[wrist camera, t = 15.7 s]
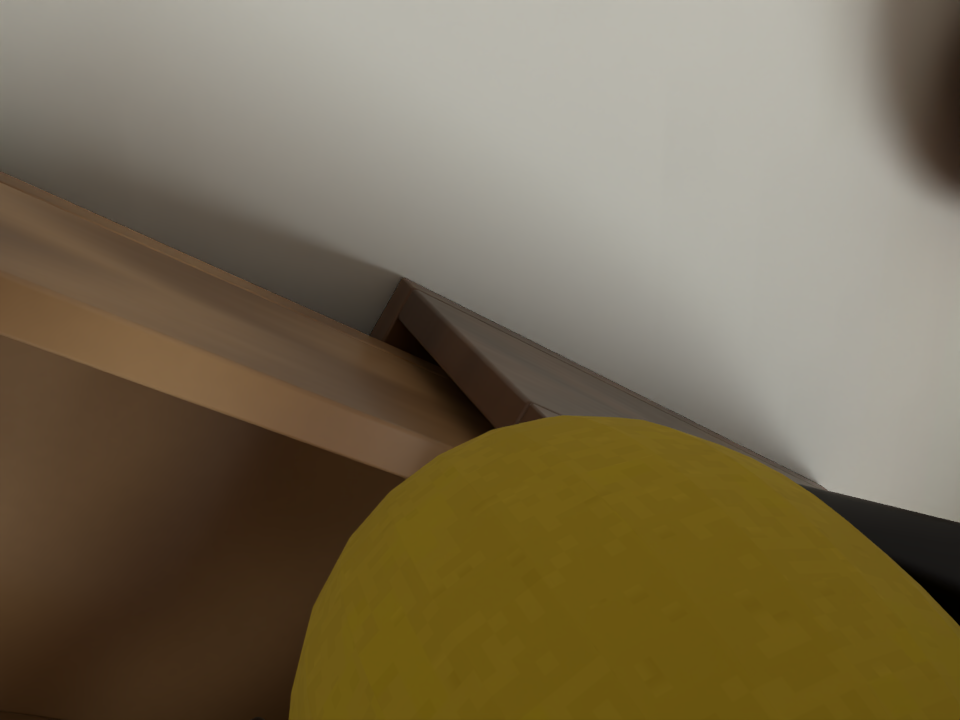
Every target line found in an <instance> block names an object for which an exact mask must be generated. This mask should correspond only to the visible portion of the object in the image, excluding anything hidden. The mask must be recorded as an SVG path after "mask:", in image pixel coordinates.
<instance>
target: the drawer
mask: <svg viewBox="0 0 960 720" xmlns="http://www.w3.org/2000/svg"><path fill="white" fill-rule="evenodd" d="M493 429H495V428H494V426H493V425H492V424H491V423H490V422H489V421H488V420H487V418H486V417H485V416H484V415H483V414H482V413H481V412H480V411H479V409H478V408H477V407H476V406H475V405H474V404H473V403H472V402H471V400H470V399H469V398H468V397H467V396H466V395H465V394H464V392H463V391H462V390H461V389H460V388H459V387H458V386H457V385H456V383H455V382H454V381H453V380H452V379H451V378H450V377H449V376H448V374H447V373H446V372H445V371H444V370H443V369H442V368H441V367H438V366H436V365H434V364H432V363H429V362H427V361H425V360H423V359H421V358H418V357H416V356H414V355H412V354H409V353H407V352H405V351H403V350H400V349H398V348H396V347H394V346H391V345H389V344H387V343H385V342H382V341H380V340H378V339H376V338H373V337H371V336H369V335H367V334H364V333H362V332H360V331H358V330H356V329H353V328H351V327H349V326H347V325H344V324H342V323H340V322H338V321H335V320H333V319H331V318H329V317H326V316H324V315H322V314H320V313H317V312H315V311H313V310H311V309H308V308H306V307H304V306H302V305H299V304H297V303H295V302H293V301H290V300H288V299H286V298H284V297H282V296H279V295H277V294H275V293H273V292H270V291H268V290H266V289H264V288H261V287H259V286H257V285H255V284H252V283H250V282H248V281H246V280H243V279H241V278H239V277H237V276H234V275H232V274H230V273H228V272H225V271H223V270H221V269H219V268H217V267H214V266H212V265H210V264H208V263H205V262H203V261H201V260H199V259H196V258H194V257H192V256H190V255H187V254H185V253H183V252H181V251H178V250H176V249H174V248H172V247H169V246H167V245H165V244H163V243H160V242H158V241H156V240H154V239H152V238H149V237H147V236H145V235H143V234H140V233H138V232H136V231H134V230H131V229H129V228H127V227H125V226H122V225H120V224H118V223H116V222H113V221H111V220H109V219H107V218H104V217H102V216H100V215H98V214H95V213H93V212H91V211H89V210H87V209H84V208H82V207H80V206H78V205H75V204H73V203H71V202H69V201H66V200H64V199H62V198H60V197H57V196H55V195H53V194H51V193H48V192H46V191H44V190H42V189H39V188H37V187H35V186H33V185H30V184H28V183H26V182H24V181H22V180H19V179H17V178H15V177H13V176H10V175H8V174H6V173H4V172H1V171H0V720H251V719H253V718H255V717H262V718H263V719H265V720H289V710H290V700H291V691H292V687H293V683H294V679H295V675H296V671H297V667H298V663H299V659H300V655H301V651H302V647H303V643H304V639H305V635H306V631H307V627H308V624H309V620H310V616H311V612H312V608H313V606H314V604H315V602H316V600H317V598H318V596H319V594H320V592H321V590H322V588H323V587H324V585H325V583H326V581H327V579H328V577H329V575H330V574H331V572H332V570H333V568H334V566H335V564H336V562H337V560H338V559H339V557H340V555H341V553H342V551H343V549H344V547H345V546H346V544H347V542H348V540H349V538H350V537H351V536H352V534H353V533H354V532H355V531H356V530H357V529H358V528H359V526H360V525H361V524H362V523H363V522H364V521H365V519H366V518H367V517H368V516H369V515H370V514H371V513H372V511H373V510H374V509H375V508H376V507H377V506H378V505H379V503H380V502H381V501H382V500H383V499H384V498H385V497H386V495H387V494H388V493H389V492H390V491H391V490H393V489H394V488H395V487H397V486H398V485H399V484H401V483H402V482H403V481H405V480H406V479H407V478H409V477H410V476H411V475H413V474H414V473H415V472H417V471H418V470H419V469H421V468H422V467H423V466H425V465H426V464H427V463H429V462H430V461H431V460H433V459H434V458H435V457H437V456H438V455H440V454H442V453H444V452H446V451H448V450H450V449H452V448H454V447H457V446H459V445H461V444H463V443H465V442H467V441H469V440H471V439H473V438H476V437H478V436H480V435H482V434H484V433H486V432H488V431H490V430H493Z"/></svg>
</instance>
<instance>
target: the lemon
mask: <svg viewBox="0 0 960 720" xmlns="http://www.w3.org/2000/svg"><path fill="white" fill-rule="evenodd" d="M289 720H960V626H959V625H958V624H957V623H956V622H955V621H954V620H953V618H952V617H951V616H950V615H949V614H948V613H947V612H946V611H945V610H944V609H943V608H942V607H941V606H940V605H939V604H938V603H937V602H936V601H935V600H934V599H933V598H932V597H931V596H930V595H929V593H928V592H927V591H926V590H925V589H924V588H923V587H922V586H921V585H920V584H919V583H917V582H916V581H915V580H914V579H913V578H912V577H911V576H910V575H909V574H908V573H907V572H905V571H904V570H903V569H902V568H901V567H900V566H899V565H898V564H897V563H896V562H895V561H893V560H892V559H891V558H890V557H889V556H888V555H887V554H886V553H884V552H883V551H882V550H881V549H880V548H879V547H877V546H876V545H875V544H874V543H873V542H872V541H870V540H869V539H868V538H867V537H866V536H865V535H863V534H862V533H861V532H860V531H859V530H858V529H856V528H855V527H854V526H853V525H852V524H851V523H849V522H848V521H847V520H846V519H844V518H843V517H842V516H841V515H839V514H838V513H837V512H835V511H834V510H833V509H832V508H830V507H829V506H828V505H827V504H825V503H824V502H823V501H821V500H820V499H819V498H818V497H816V496H815V495H814V494H812V493H811V492H809V491H807V490H806V489H804V488H803V487H801V486H800V485H798V484H797V483H795V482H794V481H792V480H791V479H789V478H788V477H786V476H785V475H783V474H781V473H779V472H777V471H776V470H774V469H772V468H770V467H768V466H766V465H764V464H762V463H760V462H759V461H757V460H755V459H753V458H751V457H749V456H746V455H744V454H741V453H739V452H736V451H734V450H732V449H729V448H727V447H724V446H722V445H719V444H716V443H713V442H711V441H708V440H705V439H702V438H699V437H696V436H693V435H690V434H687V433H684V432H682V431H679V430H676V429H673V428H670V427H666V426H663V425H659V424H656V423H652V422H649V421H645V420H639V419H629V418H620V417H597V416H570V415H562V416H555V417H547V418H542V419H538V420H533V421H529V422H524V423H520V424H515V425H511V426H506V427H502V428H497V429H493V430H490V431H488V432H486V433H484V434H482V435H480V436H478V437H476V438H473V439H471V440H469V441H467V442H465V443H463V444H461V445H459V446H457V447H454V448H452V449H450V450H448V451H446V452H444V453H442V454H440V455H438V456H437V457H435V458H434V459H433V460H431V461H430V462H429V463H427V464H426V465H425V466H423V467H422V468H421V469H419V470H418V471H417V472H415V473H414V474H413V475H411V476H410V477H409V478H407V479H406V480H405V481H403V482H402V483H401V484H399V485H398V486H397V487H395V488H394V489H393V490H391V491H390V492H389V493H388V494H387V495H386V497H385V498H384V499H383V500H382V501H381V502H380V503H379V505H378V506H377V507H376V508H375V509H374V510H373V511H372V513H371V514H370V515H369V516H368V517H367V518H366V519H365V521H364V522H363V523H362V524H361V525H360V526H359V528H358V529H357V530H356V531H355V532H354V533H353V534H352V536H351V537H350V538H349V540H348V542H347V544H346V546H345V547H344V549H343V551H342V553H341V555H340V557H339V559H338V560H337V562H336V564H335V566H334V568H333V570H332V572H331V574H330V575H329V577H328V579H327V581H326V583H325V585H324V587H323V588H322V590H321V592H320V594H319V596H318V598H317V600H316V602H315V604H314V606H313V608H312V612H311V616H310V620H309V624H308V627H307V631H306V635H305V639H304V643H303V647H302V651H301V655H300V659H299V663H298V667H297V671H296V675H295V679H294V683H293V687H292V691H291V700H290V710H289Z"/></svg>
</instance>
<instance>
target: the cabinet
mask: <svg viewBox="0 0 960 720" xmlns="http://www.w3.org/2000/svg"><path fill="white" fill-rule="evenodd" d="M370 336H371V337H373V338H376V339H378V340H380V341H382V342H385V343H387V344H389V345H391V346H394V347H396V348H398V349H400V350H403V351H405V352H407V353H409V354H412V355H414V356H416V357H418V358H421V359H423V360H425V361H427V362H429V363H432V364H434V365H436V366H438V367H441V368H442V369H443V370H444V371H445V372H446V373H447V374H448V376H449V377H450V378H451V379H452V380H453V381H454V382H455V383H456V385H457V386H458V387H459V388H460V389H461V390H462V391H463V392H464V394H465V395H466V396H467V397H468V398H469V399H470V400H471V402H472V403H473V404H474V405H475V406H476V407H477V408H478V409H479V411H480V412H481V413H482V414H483V415H484V416H485V417H486V418H487V420H488V421H489V422H490V423H491V424H492V425H493V426H494V428H495V429H497V428H502V427H506V426H511V425H515V424H520V423H524V422H529V421H533V420H538V419H542V418H547V417H555V416H562V415H570V416H597V417H620V418H629V419H639V420H645V421H649V422H652V423H656V424H659V425H663V426H666V427H670V428H673V429H676V430H679V431H682V432H684V433H687V434H690V435H693V436H696V437H699V438H702V439H705V440H708V441H711V442H713V443H716V444H719V445H722V446H724V447H727V448H729V449H732V450H734V451H736V452H739V453H741V454H744V455H746V456H749V457H751V458H753V459H755V460H757V461H759V462H760V463H762V464H764V465H766V466H768V467H770V468H772V469H774V470H776V471H777V472H779V473H781V474H783V475H785V476H786V477H788V478H789V479H791V480H792V481H794V482H795V483H798V484H802V485H806V486H810V487H814V488H818V489H823V490H827V489H825V488H824V487H822V486H821V485H819V484H817V483H815V482H813V481H811V480H809V479H807V478H805V477H803V476H801V475H799V474H797V473H795V472H793V471H791V470H789V469H787V468H785V467H783V466H781V465H779V464H777V463H775V462H773V461H771V460H769V459H767V458H765V457H763V456H761V455H759V454H757V453H755V452H753V451H751V450H749V449H747V448H745V447H743V446H741V445H739V444H737V443H735V442H733V441H731V440H729V439H727V438H725V437H723V436H721V435H719V434H717V433H715V432H713V431H711V430H709V429H707V428H705V427H703V426H701V425H699V424H697V423H695V422H693V421H691V420H689V419H687V418H685V417H683V416H681V415H679V414H677V413H675V412H673V411H671V410H669V409H667V408H665V407H663V406H661V405H659V404H657V403H655V402H653V401H651V400H649V399H647V398H645V397H643V396H641V395H639V394H637V393H635V392H633V391H631V390H629V389H627V388H625V387H623V386H621V385H619V384H617V383H615V382H613V381H611V380H609V379H607V378H605V377H603V376H601V375H599V374H596V373H594V372H592V371H590V370H588V369H586V368H584V367H582V366H580V365H578V364H576V363H574V362H572V361H570V360H568V359H566V358H564V357H562V356H560V355H558V354H556V353H554V352H552V351H550V350H548V349H546V348H544V347H542V346H540V345H538V344H536V343H534V342H532V341H530V340H528V339H526V338H524V337H522V336H520V335H518V334H516V333H514V332H512V331H510V330H508V329H506V328H504V327H502V326H500V325H498V324H496V323H494V322H492V321H490V320H488V319H486V318H484V317H482V316H480V315H478V314H476V313H474V312H472V311H470V310H468V309H466V308H464V307H462V306H460V305H458V304H456V303H454V302H452V301H450V300H448V299H446V298H444V297H442V296H440V295H438V294H436V293H434V292H432V291H430V290H428V289H426V288H424V287H422V286H420V285H418V284H416V283H414V282H412V281H410V280H408V279H406V278H402V279H401V281H400V283H399V284H398V286H397V288H396V290H395V292H394V293H393V295H392V297H391V299H390V300H389V302H388V304H387V306H386V308H385V309H384V311H383V313H382V315H381V316H380V318H379V320H378V322H377V324H376V325H375V327H374V329H373V331H372V333H371V334H370ZM827 491H828V490H827Z"/></svg>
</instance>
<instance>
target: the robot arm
mask: <svg viewBox="0 0 960 720" xmlns="http://www.w3.org/2000/svg"><path fill="white" fill-rule="evenodd" d="M797 484H798V483H797ZM798 485H800V486H801V487H803V488H804V489H806V490H807V491H809V492H811V493H812V494H814V495H815V496H816V497H818V498H819V499H820V500H821V501H823V502H824V503H825V504H827V505H828V506H829V507H830V508H832V509H833V510H834V511H835V512H837V513H838V514H839V515H841V516H842V517H843V518H844V519H846V520H847V521H848V522H849V523H851V524H852V525H853V526H854V527H855V528H856V529H858V530H859V531H860V532H861V533H862V534H863V535H865V536H866V537H867V538H868V539H869V540H870V541H872V542H873V543H874V544H875V545H876V546H877V547H879V548H880V549H881V550H882V551H883V552H884V553H886V554H887V555H888V556H889V557H890V558H891V559H892V560H893V561H895V562H896V563H897V564H898V565H899V566H900V567H901V568H902V569H903V570H904V571H905V572H907V573H908V574H909V575H910V576H911V577H912V578H913V579H914V580H915V581H916V582H917V583H919V584H920V585H921V586H922V587H923V588H924V589H925V590H926V591H927V592H928V593H929V595H930V596H931V597H932V598H933V599H934V600H935V601H936V602H937V603H938V604H939V605H940V606H941V607H942V608H943V609H944V610H945V611H946V612H947V613H948V614H949V615H950V616H951V617H952V618H953V620H954V621H955V622H956V623H957V624H958V625H959V626H960V523H959V522H954V521H950V520H946V519H942V518H938V517H934V516H930V515H926V514H921V513H917V512H913V511H909V510H905V509H901V508H897V507H893V506H888V505H884V504H880V503H876V502H872V501H868V500H864V499H860V498H856V497H851V496H847V495H843V494H839V493H835V492H831V491H827V490H823V489H818V488H814V487H810V486H806V485H802V484H798ZM251 720H265V719H263V718H262V717H255V718H253V719H251Z"/></svg>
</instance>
